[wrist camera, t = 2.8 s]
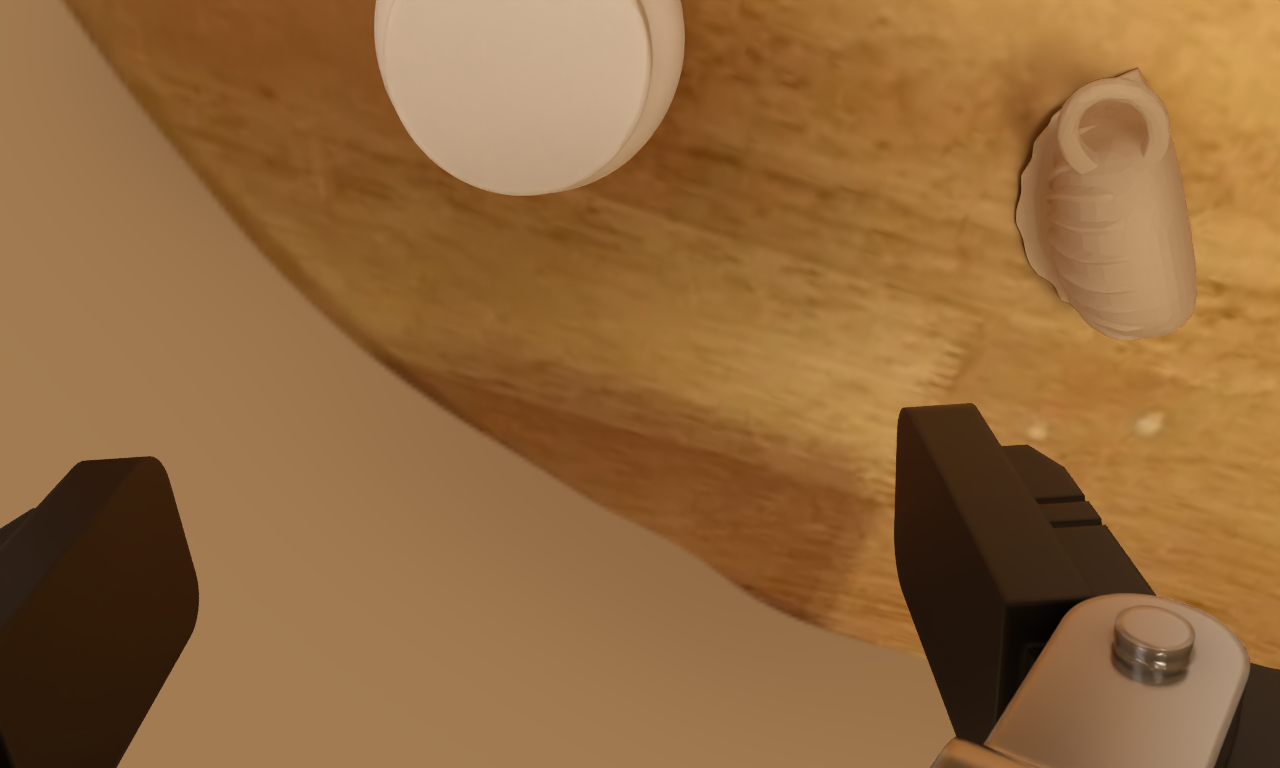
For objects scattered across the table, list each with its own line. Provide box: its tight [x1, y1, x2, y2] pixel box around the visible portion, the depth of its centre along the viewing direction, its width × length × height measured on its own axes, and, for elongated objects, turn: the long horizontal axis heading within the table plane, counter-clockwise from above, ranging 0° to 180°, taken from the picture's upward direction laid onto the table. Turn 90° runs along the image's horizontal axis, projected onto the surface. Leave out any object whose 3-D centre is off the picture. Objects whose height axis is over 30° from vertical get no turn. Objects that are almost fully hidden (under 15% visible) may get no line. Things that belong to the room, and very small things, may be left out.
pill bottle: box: [374, 0, 685, 196], centre depth 24 cm, size 6×6×11 cm
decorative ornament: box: [1016, 68, 1197, 340], centre depth 29 cm, size 4×8×5 cm, turn 18°
